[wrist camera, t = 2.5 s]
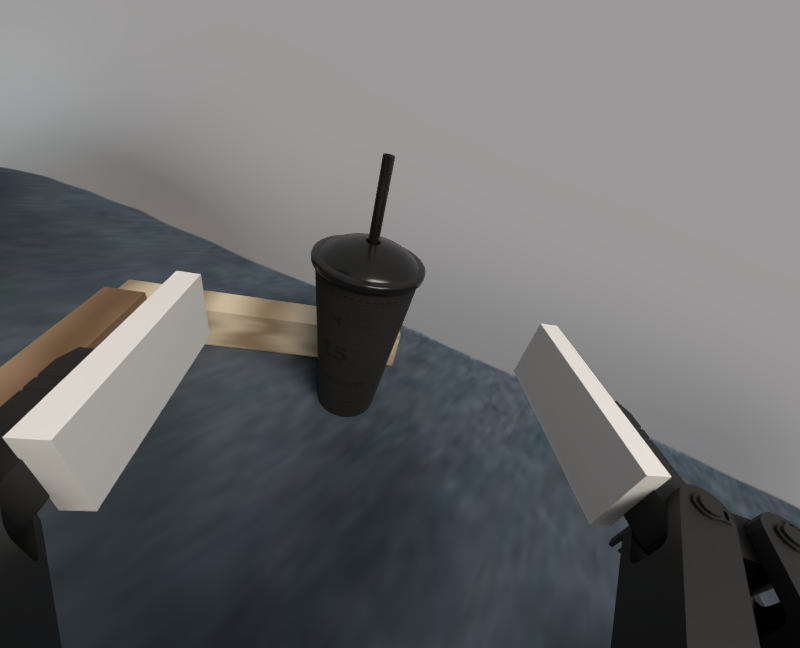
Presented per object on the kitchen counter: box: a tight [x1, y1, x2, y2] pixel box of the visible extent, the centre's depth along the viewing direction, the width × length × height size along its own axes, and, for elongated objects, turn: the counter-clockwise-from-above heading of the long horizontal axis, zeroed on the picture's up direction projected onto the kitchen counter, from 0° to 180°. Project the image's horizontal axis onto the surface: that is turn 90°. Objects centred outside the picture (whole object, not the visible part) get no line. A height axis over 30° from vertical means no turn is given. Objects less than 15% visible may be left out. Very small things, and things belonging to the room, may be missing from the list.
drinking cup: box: [311, 153, 425, 417], centre depth 24 cm, size 8×8×20 cm
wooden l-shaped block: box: [0, 280, 400, 407], centre depth 27 cm, size 25×15×5 cm, turn 93°
